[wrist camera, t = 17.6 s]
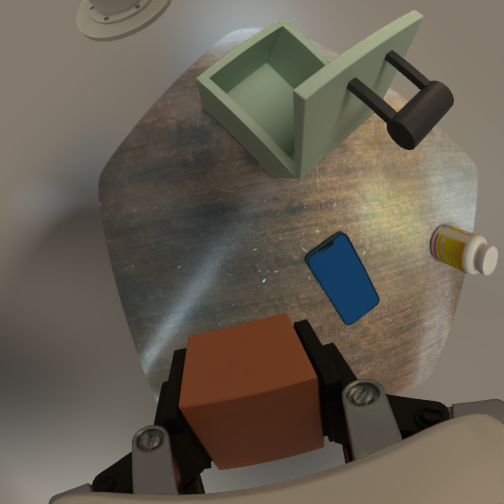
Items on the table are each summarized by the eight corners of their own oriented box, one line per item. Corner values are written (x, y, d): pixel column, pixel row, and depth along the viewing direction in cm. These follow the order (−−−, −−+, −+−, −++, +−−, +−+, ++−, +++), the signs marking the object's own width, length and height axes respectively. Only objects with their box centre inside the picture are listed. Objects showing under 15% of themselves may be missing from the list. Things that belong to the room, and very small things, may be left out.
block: (187, 335, 11) (177, 406, 7) (286, 311, 11) (317, 376, 7) (216, 402, 12) (218, 470, 8) (299, 383, 12) (325, 447, 8)
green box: (203, 107, 34) (196, 78, 22) (265, 57, 33) (282, 17, 21) (273, 178, 37) (295, 178, 26) (331, 125, 36) (372, 108, 25)
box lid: (292, 89, 11) (389, 177, 10) (414, 9, 10) (484, 68, 9) (294, 175, 26) (337, 219, 25) (371, 105, 24) (411, 143, 24)
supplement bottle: (435, 266, 44) (481, 290, 32) (425, 238, 42) (476, 258, 30) (455, 245, 44) (502, 264, 31) (446, 217, 42) (497, 231, 30)
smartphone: (346, 327, 44) (303, 259, 40) (344, 325, 45) (301, 257, 40) (381, 301, 43) (344, 229, 39) (378, 299, 44) (342, 228, 40)
